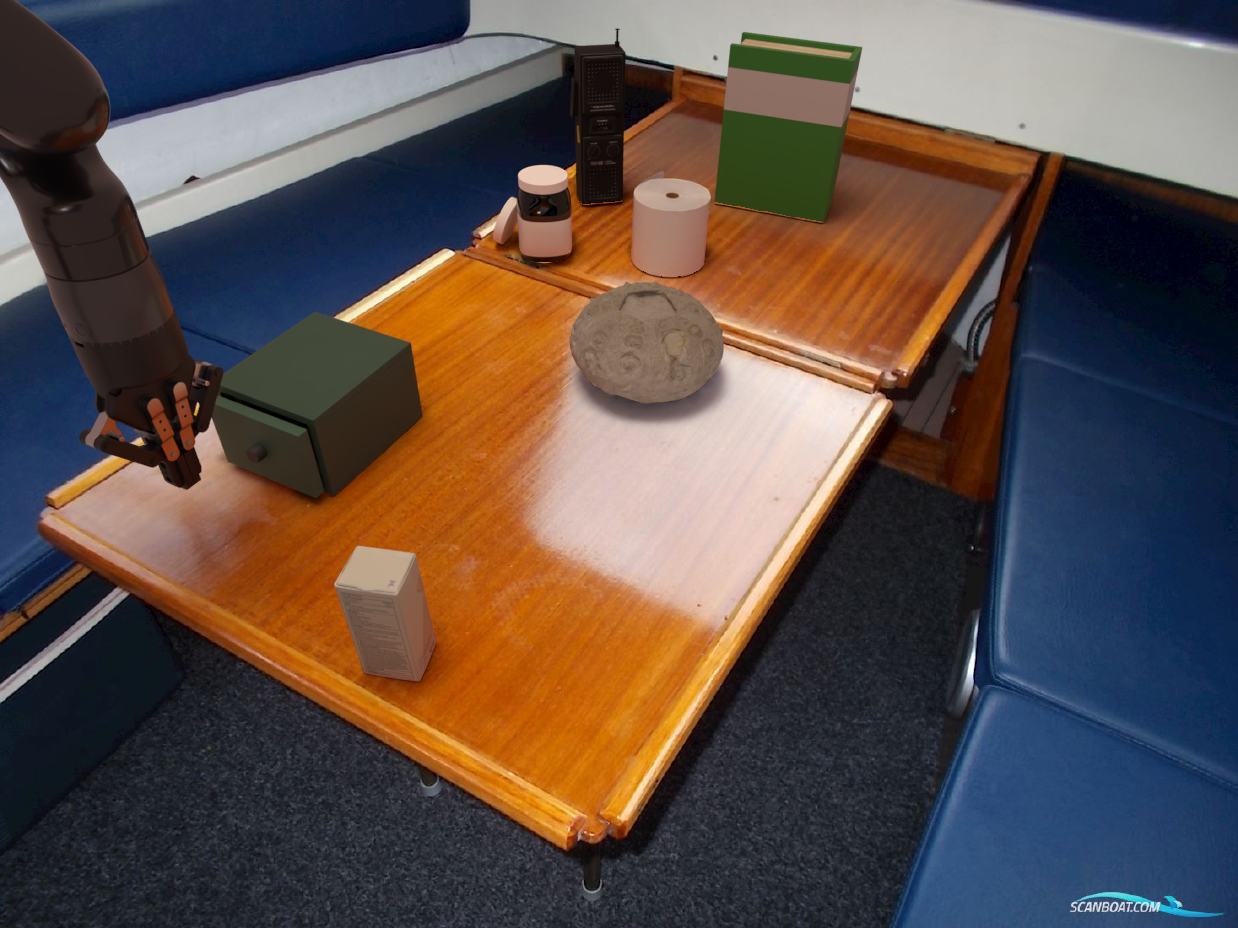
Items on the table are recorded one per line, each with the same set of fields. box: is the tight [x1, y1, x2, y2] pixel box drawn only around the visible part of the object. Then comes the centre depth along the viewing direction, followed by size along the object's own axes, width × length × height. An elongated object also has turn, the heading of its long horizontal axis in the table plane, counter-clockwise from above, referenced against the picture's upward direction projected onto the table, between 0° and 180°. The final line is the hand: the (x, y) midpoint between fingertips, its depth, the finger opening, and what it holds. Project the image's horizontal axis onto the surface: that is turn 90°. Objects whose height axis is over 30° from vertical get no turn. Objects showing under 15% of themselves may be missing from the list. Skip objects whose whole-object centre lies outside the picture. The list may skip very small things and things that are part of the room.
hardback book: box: [713, 31, 863, 222], centre depth 131 cm, size 18×7×24 cm, turn 69°
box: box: [333, 545, 437, 683], centre depth 68 cm, size 5×4×11 cm
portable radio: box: [569, 28, 627, 204], centre depth 131 cm, size 8×6×25 cm
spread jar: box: [492, 164, 573, 263], centre depth 122 cm, size 12×11×12 cm
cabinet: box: [218, 311, 424, 498], centre depth 90 cm, size 15×13×10 cm
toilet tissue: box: [630, 170, 712, 278], centre depth 122 cm, size 11×12×10 cm
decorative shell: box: [569, 280, 725, 405], centre depth 99 cm, size 18×18×10 cm
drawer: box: [211, 395, 324, 499], centre depth 88 cm, size 15×12×8 cm
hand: (186, 482), depth 76 cm, fingers closed
